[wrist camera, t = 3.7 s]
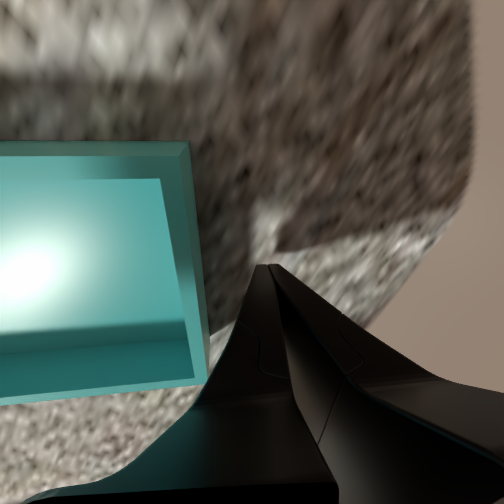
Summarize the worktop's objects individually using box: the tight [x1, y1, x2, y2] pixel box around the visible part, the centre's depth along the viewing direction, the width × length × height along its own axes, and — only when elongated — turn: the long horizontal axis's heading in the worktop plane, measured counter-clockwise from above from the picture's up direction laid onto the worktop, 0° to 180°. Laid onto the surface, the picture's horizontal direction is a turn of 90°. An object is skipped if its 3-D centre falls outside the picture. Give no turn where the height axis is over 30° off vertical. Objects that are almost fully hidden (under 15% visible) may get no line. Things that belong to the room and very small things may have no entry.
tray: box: [0, 140, 210, 406], centre depth 8 cm, size 9×12×2 cm
